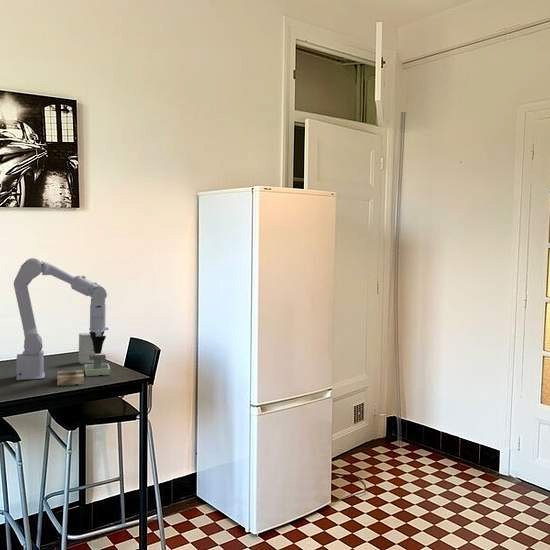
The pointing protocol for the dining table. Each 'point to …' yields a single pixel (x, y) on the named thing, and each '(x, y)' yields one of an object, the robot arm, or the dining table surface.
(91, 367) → the tray
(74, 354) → the dining table surface
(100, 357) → the t key
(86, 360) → the skincare box
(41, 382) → the dining table surface
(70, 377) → the key block
